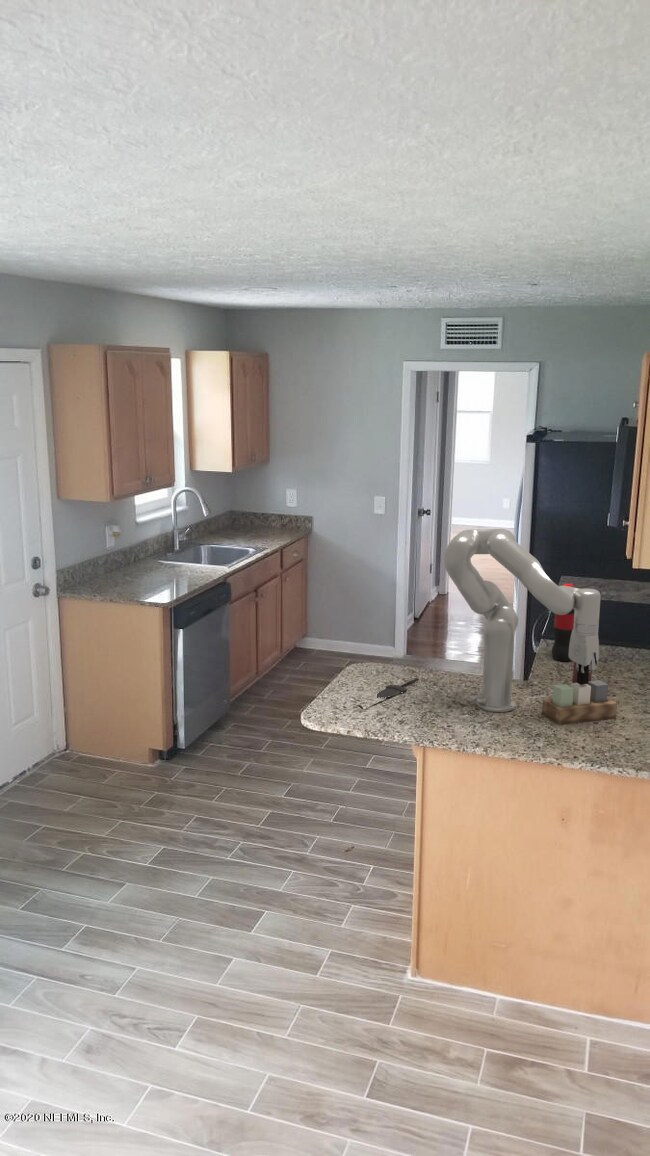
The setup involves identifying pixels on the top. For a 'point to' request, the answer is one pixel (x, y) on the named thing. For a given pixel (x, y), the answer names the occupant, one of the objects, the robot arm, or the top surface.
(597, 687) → the key charcoal
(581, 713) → the brown wooden block rack
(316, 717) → the top surface
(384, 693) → the black spatula
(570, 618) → the cola bottle
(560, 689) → the key sage
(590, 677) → the can
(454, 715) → the top surface
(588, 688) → the key ivory
